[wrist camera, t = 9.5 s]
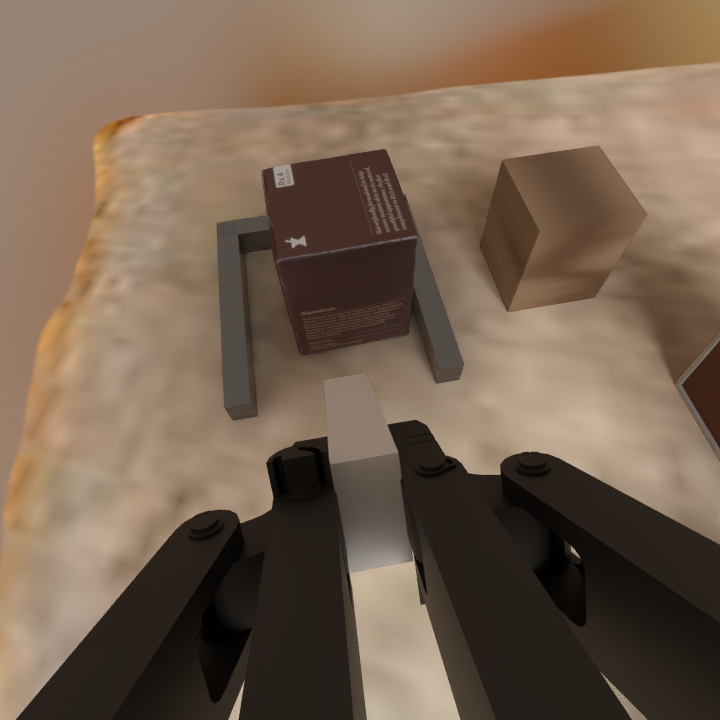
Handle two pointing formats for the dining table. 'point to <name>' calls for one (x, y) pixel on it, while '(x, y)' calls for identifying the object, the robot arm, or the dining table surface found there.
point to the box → (342, 249)
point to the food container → (704, 391)
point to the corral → (236, 319)
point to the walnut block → (557, 227)
